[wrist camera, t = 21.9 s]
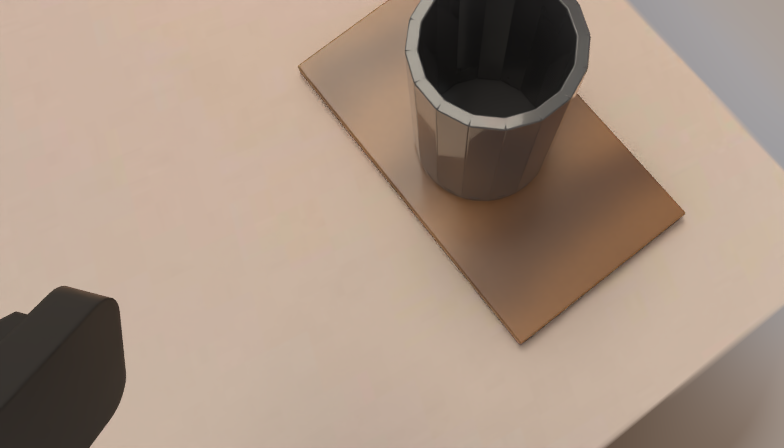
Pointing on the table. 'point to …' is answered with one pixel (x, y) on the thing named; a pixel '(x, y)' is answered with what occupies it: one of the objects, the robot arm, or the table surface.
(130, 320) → the table surface
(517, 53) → the open gray tube
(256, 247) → the table surface
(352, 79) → the plate
